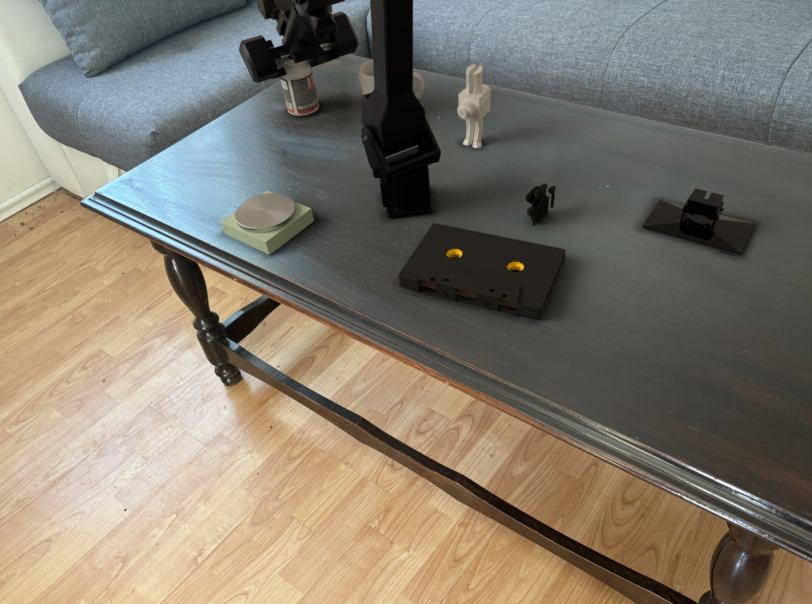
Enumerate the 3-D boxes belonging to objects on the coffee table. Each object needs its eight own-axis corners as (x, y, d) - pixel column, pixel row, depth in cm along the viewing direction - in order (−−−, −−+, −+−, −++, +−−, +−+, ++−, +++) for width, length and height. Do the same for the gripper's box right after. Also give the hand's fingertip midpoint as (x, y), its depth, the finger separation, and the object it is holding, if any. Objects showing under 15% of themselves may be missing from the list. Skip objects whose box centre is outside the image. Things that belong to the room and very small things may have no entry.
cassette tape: (398, 287, 82) (397, 274, 80) (434, 234, 89) (433, 221, 87) (539, 321, 76) (540, 307, 74) (565, 261, 83) (566, 247, 81)
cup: (427, 100, 116) (424, 55, 110) (423, 123, 110) (420, 76, 105) (367, 102, 117) (361, 57, 111) (360, 124, 112) (354, 78, 106)
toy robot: (496, 133, 106) (498, 59, 98) (473, 156, 102) (473, 80, 93) (475, 128, 108) (475, 55, 99) (451, 150, 104) (449, 75, 95)
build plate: (754, 226, 85) (765, 195, 82) (739, 257, 81) (750, 227, 78) (659, 200, 90) (666, 171, 87) (640, 229, 86) (647, 199, 83)
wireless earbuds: (530, 234, 87) (533, 202, 84) (514, 228, 88) (516, 196, 85) (556, 208, 91) (559, 176, 87) (540, 202, 92) (543, 171, 88)
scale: (271, 202, 97) (266, 184, 95) (315, 220, 93) (311, 202, 91) (225, 234, 93) (218, 216, 90) (269, 255, 88) (264, 237, 86)
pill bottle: (323, 102, 118) (313, 46, 111) (313, 118, 115) (302, 61, 107) (294, 101, 120) (282, 46, 112) (282, 116, 116) (270, 60, 109)
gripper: (339, -44, 101) (321, 12, 116) (225, -13, 95) (221, 41, 110) (370, 24, 102) (348, 71, 116) (258, 58, 96) (250, 103, 111)
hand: (293, 70), depth 113 cm, fingers closed on pill bottle, 6 cm apart
